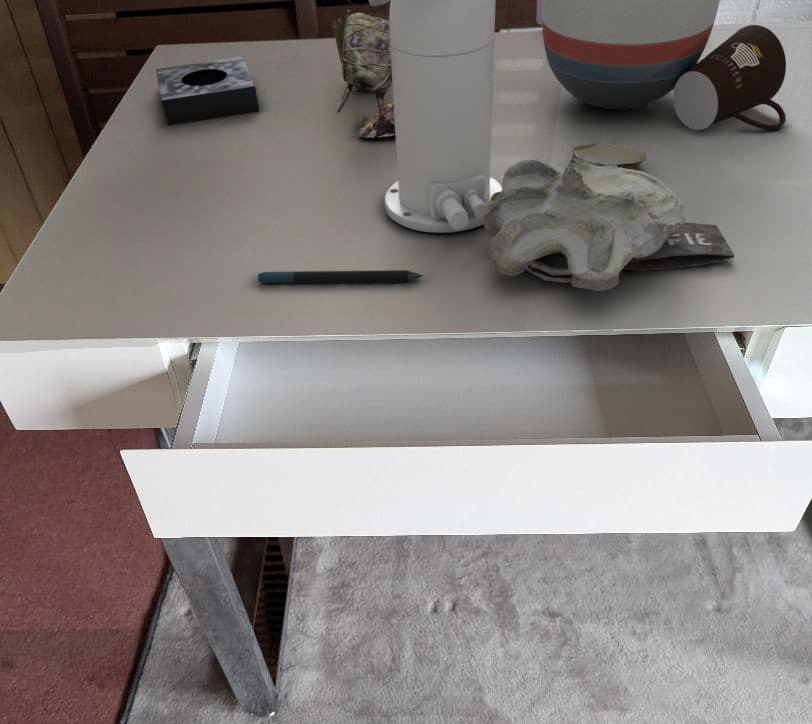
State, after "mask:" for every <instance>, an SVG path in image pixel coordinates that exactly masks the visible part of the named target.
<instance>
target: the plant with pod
mask: <svg viewBox="0 0 812 724" xmlns="http://www.w3.org/2000/svg"><path fill="white" fill-rule="evenodd" d="M390 3H391V0H390V2H389V4H390ZM347 12H348V13H350V12H351V9H347ZM385 19H386V18H384V19H383V18H376V17H372V16H369V14H366V13H363V12H356V13H351V14H350V15H349V16H348V18H347V19H346V23H345V29H344V40H343V51H342V54H341V58H342V64H341V67H340V68H341V74H342V79H343V81H344V82H347V86H346V88H345V90H344V93H343V94H342V96H341V100H340V102H339V103H338V105H337V107H336V110H335V112H336V114H339V113H340V112H341V111H342V109H343V108H344V106H345V104H346V103H347V101H348V99H349V98H350V95H351V93H352V91H353V88H354V86H356V87H358V88H362V89H369V90H370V91H369V92H374V97H375V99H376V102H377V109H378V113H377V114H376V113H374V114H372V113H370V114H368V115H366V116H364V115H362V119H361V120H360V125H361V126H360V129H359V134H358V137H360V138H364V139H368V138H372V139H374V138H382V137H386V138H387V137H391V136H395V119H394V102H392V103H388V104H387V92H388V91H389V90H390V89H391V86H392V68H391V51H390V29H389V21H388V20H389V19H388V20H387V19H386V20H385Z"/></svg>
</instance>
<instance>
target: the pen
mask: <svg viewBox="0 0 812 724" xmlns="http://www.w3.org/2000/svg"><path fill="white" fill-rule="evenodd" d="M423 276H424V275H423V274H420V273H417V272H414V271H410V270H408V269H407V270H405V269H403V270H399V269H398V270H397V269H396V270H316V271H315V270H314V271H313V270H310V271H308V270H307V271H306V270H305V271H262V272H259V273H258V274H257V279H258V282H259V283H263V284H299V283H301V284H302V283H304V284H306V283H307V284H309V283H313V284H314V283H315V284H316V283H398V282H399V283H403V282H406V283H407V282H411V281H415V280H417V279H420V278H423Z"/></svg>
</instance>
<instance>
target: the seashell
mask: <svg viewBox="0 0 812 724" xmlns="http://www.w3.org/2000/svg"><path fill="white" fill-rule="evenodd" d="M571 152H572V155H579V156H582V155H583V156H586V157H588V159H589V160H590V163H591V164H592V165H596V166H615V165H616V166H617V167H618V168H624V169H633V168H634V167H636V166H638V165H640V164H642V163H644V162H645V161H646V160H647V155H646V153H644V152H643V151H641V150H640V149H637V148H634V147H632V146H628V145H622V144H621V143H617V144H615V143H610V144H609V143H607V142H606V143H585V144H580V145H575V146H573V147H572V149H571Z"/></svg>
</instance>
